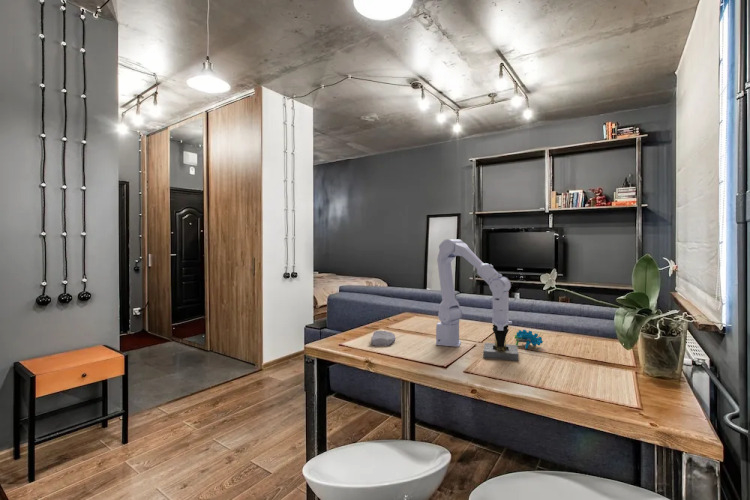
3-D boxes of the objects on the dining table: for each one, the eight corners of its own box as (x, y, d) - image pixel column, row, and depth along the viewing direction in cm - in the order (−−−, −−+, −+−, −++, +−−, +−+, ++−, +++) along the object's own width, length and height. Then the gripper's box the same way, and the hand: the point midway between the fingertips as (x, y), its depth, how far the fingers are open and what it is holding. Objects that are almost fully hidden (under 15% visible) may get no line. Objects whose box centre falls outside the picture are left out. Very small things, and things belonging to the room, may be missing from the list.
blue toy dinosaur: (547, 343, 144) (536, 328, 140) (544, 356, 141) (532, 341, 137) (522, 341, 153) (510, 327, 149) (518, 353, 150) (506, 339, 146)
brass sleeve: (495, 353, 135) (494, 334, 135) (494, 350, 139) (494, 332, 138) (506, 354, 134) (506, 335, 134) (505, 350, 138) (505, 332, 137)
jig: (483, 358, 132) (483, 351, 132) (484, 348, 144) (484, 342, 144) (518, 361, 128) (518, 354, 128) (517, 351, 140) (517, 345, 140)
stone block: (394, 343, 161) (373, 338, 162) (396, 332, 160) (374, 327, 161) (392, 352, 149) (369, 346, 150) (394, 340, 148) (371, 335, 150)
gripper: (512, 313, 128) (512, 351, 128) (511, 306, 141) (511, 341, 142) (491, 312, 130) (491, 349, 130) (492, 305, 144) (492, 339, 144)
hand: (500, 345), depth 136 cm, fingers closed on brass sleeve, 4 cm apart
